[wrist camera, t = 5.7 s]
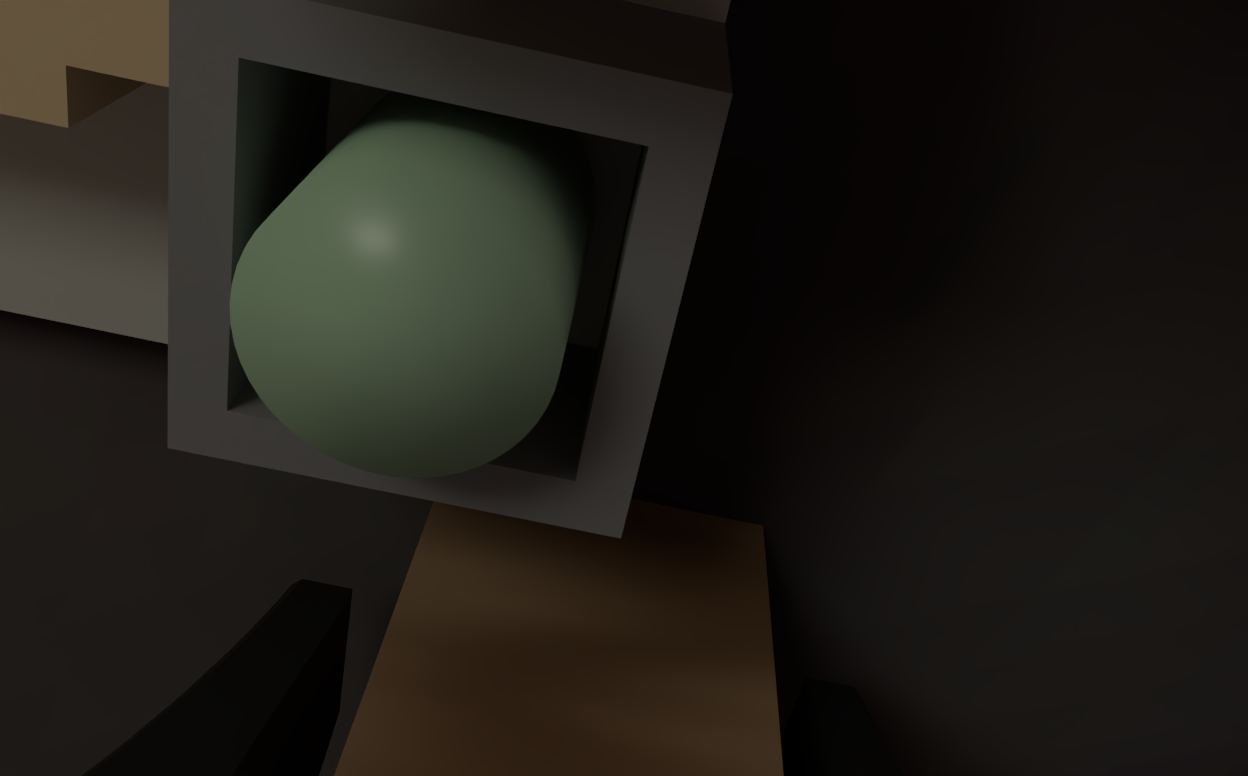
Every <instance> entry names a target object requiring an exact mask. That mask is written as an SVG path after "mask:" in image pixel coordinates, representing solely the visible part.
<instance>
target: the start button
mask: <svg viewBox="0 0 1248 776" xmlns="http://www.w3.org/2000/svg"><path fill="white" fill-rule="evenodd" d="M595 210H596V192H595V185H594V178H593V174H592V171H591V167H590V164H589V160H588V158H587V156H586V153H585V151H584V149H583V146H582V145H581V143H580V141H579V139H578V138H577V136H576V134H575V133H574V131H573V130H571V129H566V128H561V127H557V126H552V125H548V124H543V123H538V122H534V121H529V120H525V119H520V118H515V117H511V116H506V115H501V114H497V113H492V112H488V111H483V110H478V109H474V108H469V107H465V106H460V105H455V104H451V103H446V102H442V101H437V100H432V99H428V98H423V97H418V96H414V95H409V94H405V93H400V92H395V91H390V92H389V93H388V94H387V95H385V96H384V97H383V98H382V99H381V100H379V101H378V102H377V103H376V104H375V105H374V106H373V107H372V108H371V110H370V111H369V112H368V113H367V114H366V115H365V116H364V117H363V118H362V119H361V120H360V121H359V122H358V123H357V124H356V125H355V126H354V127H353V128H352V129H351V131H350V132H349V133H348V134H347V135H346V136H345V137H344V138H343V139H342V140H341V141H340V142H339V143H338V144H337V145H336V146H335V147H334V148H333V149H332V150H331V152H330V153H329V154H328V155H327V156H326V157H325V158H324V159H323V160H322V161H321V162H320V163H319V164H318V165H317V166H316V167H315V168H314V169H313V170H312V171H311V173H310V174H309V175H308V176H307V177H306V178H305V179H304V180H303V181H302V182H301V183H300V184H299V185H298V186H297V187H296V188H295V189H294V190H293V191H292V192H291V194H290V195H289V196H288V197H287V198H286V199H285V200H284V201H283V202H282V203H281V204H280V205H279V206H278V207H277V208H276V209H275V210H274V211H273V212H272V213H271V215H270V216H269V217H268V218H267V219H266V220H265V221H264V222H263V223H262V224H261V226H260V227H259V228H258V229H257V230H256V231H255V233H254V234H253V236H252V237H251V239H250V240H249V242H248V243H247V245H246V246H245V248H244V250H243V253H242V255H241V257H240V259H239V262H238V264H237V266H236V270H235V274H234V278H233V281H232V286H231V296H230V324H231V330H232V335H233V341H234V345H235V348H236V351H237V354H238V357H239V360H240V363H241V365H242V367H243V369H244V371H245V373H246V375H247V378H248V380H249V381H250V383H251V385H252V386H253V388H254V389H255V391H256V392H257V394H258V396H259V397H260V399H261V400H262V401H263V402H264V404H265V405H266V406H267V407H268V408H269V410H270V411H271V412H272V413H273V415H275V416H276V417H277V418H278V419H279V420H280V421H281V422H282V423H283V424H284V425H285V426H286V427H287V428H288V429H289V430H290V431H291V432H293V433H294V434H295V435H297V436H298V437H299V438H300V439H302V440H303V441H304V442H306V443H307V444H309V445H310V446H312V447H314V448H315V449H317V450H318V451H320V452H321V453H323V454H325V455H327V456H329V457H331V458H333V459H335V460H337V461H340V462H342V463H345V464H347V465H350V466H353V467H355V468H358V469H361V470H365V471H369V472H373V473H377V474H381V475H387V476H394V477H403V478H429V477H441V476H446V475H451V474H457V473H461V472H464V471H467V470H470V469H473V468H476V467H479V466H481V465H483V464H485V463H488V462H490V461H492V460H494V459H496V458H497V457H499V456H501V455H502V454H504V453H505V452H507V451H508V450H510V449H511V448H513V447H514V446H515V445H516V444H517V443H518V442H520V441H521V440H522V439H523V438H524V437H525V436H526V435H527V434H528V433H529V432H530V431H531V429H532V428H533V427H534V426H535V425H536V424H537V423H538V421H539V419H540V418H541V416H542V415H543V413H544V412H545V410H546V409H547V407H548V405H549V403H550V400H551V398H552V396H553V394H554V391H555V389H556V385H557V381H558V378H559V374H560V370H561V366H562V361H563V357H564V353H565V348H566V344H567V339H568V335H569V331H570V326H571V322H572V317H573V313H574V309H575V304H576V300H577V296H578V291H579V287H580V282H581V278H582V274H583V269H584V265H585V260H586V256H587V252H588V247H589V243H590V238H591V234H592V230H593V225H594V218H595Z"/></svg>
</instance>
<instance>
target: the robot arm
mask: <svg viewBox="0 0 1248 776" xmlns="http://www.w3.org/2000/svg"><path fill="white" fill-rule="evenodd" d="M351 597H352V589H350V588H345V587H340V586H334V585H329V584H324V583H319V582H314V581H309V580H304V579H301V580H300V581H298V582H296V583H294V584H292V585H291V586H290V588H289V589H288V590H287V591H286V592H285V593H284V594H283V596H282V597H281V598H280V599H279V600H278V601H277V602H276V603H275V604H274V605H273V607H272V608H271V609H270V610H269V611H268V612H267V613H266V614H265V615H264V616H263V617H262V618H261V619H260V620H259V621H258V622H257V624H256V625H255V626H254V627H253V628H252V629H251V630H250V631H249V632H248V633H247V634H246V635H245V636H244V637H243V638H242V639H241V640H240V641H239V642H238V643H237V644H236V645H235V646H234V647H233V648H232V649H231V650H230V651H229V652H228V653H227V654H225V655H224V656H223V657H222V658H221V659H220V660H219V661H218V662H217V663H216V664H215V665H214V666H213V667H211V668H210V669H209V670H208V671H207V672H206V673H205V674H204V675H203V676H202V677H201V678H200V679H199V680H197V681H196V682H195V683H194V684H193V685H192V686H191V687H190V688H189V689H188V690H187V691H186V692H184V693H183V694H182V695H181V696H180V697H179V698H178V699H177V700H175V701H174V702H173V703H172V704H171V705H170V706H168V707H167V708H166V709H165V710H164V711H162V712H161V713H160V714H159V715H157V716H156V717H155V718H154V719H153V720H151V721H150V722H149V723H148V724H147V725H145V726H144V727H143V728H142V729H141V730H139V731H138V732H137V733H136V734H135V735H133V736H132V737H131V738H130V739H129V740H127V741H126V742H125V743H124V744H123V745H121V746H120V747H119V748H117V749H116V750H115V751H114V752H112V753H111V754H110V755H108V756H107V757H106V758H104V759H103V760H102V761H101V762H99V763H98V764H97V765H95V766H94V767H93V768H91V769H90V770H89V771H87V772H86V773H84V774H83V775H82V776H319V773H320V770H321V767H322V764H323V761H324V758H325V755H326V752H327V749H328V746H329V742H330V739H331V736H332V733H333V730H334V727H335V723H336V720H337V717H338V714H339V709H340V699H341V690H342V681H343V672H344V662H345V653H346V644H347V634H348V625H349V616H350V606H351ZM781 749H782V761H783V774H784V776H902V775H901V773H900V772H899V770H898V768H897V766H896V764H895V762H894V761H893V759H892V757H891V755H890V753H889V751H888V749H887V747H886V746H885V744H884V742H883V740H882V738H881V736H880V734H879V732H878V730H877V728H876V727H875V725H874V723H873V721H872V719H871V717H870V715H869V713H868V711H867V709H866V707H865V705H864V704H863V702H862V700H861V698H860V696H859V694H858V693H857V691H856V690H855V688H854V687H851V686H846V685H841V684H836V683H831V682H826V681H821V680H816V679H810V678H805V679H804V682H803V684H802V687H801V690H800V692H799V695H798V698H797V700H796V703H795V705H794V708H793V711H792V713H791V716H790V718H789V721H788V724H787V726H786V729H785V732H784V734H783V737H782V739H781Z"/></svg>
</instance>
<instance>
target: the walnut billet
mask: <svg viewBox="0 0 1248 776" xmlns="http://www.w3.org/2000/svg"><path fill="white" fill-rule="evenodd" d="M334 776H784V774H783V761H782V749H781V737H780V725H779V713H778V701H777V689H776V677H775V664H774V652H773V640H772V628H771V616H770V604H769V592H768V580H767V567H766V555H765V543H764V531H763V526H762V525H757V524H752V523H748V522H743V521H738V520H733V519H728V518H723V517H718V516H713V515H708V514H703V513H698V512H694V511H689V510H684V509H679V508H674V507H669V506H664V505H659V504H654V503H649V502H645V501H640V500H635V499H631V501H630V505H629V508H628V512H627V516H626V520H625V524H624V528H623V532H622V536H621V538H616V537H611V536H606V535H601V534H596V533H591V532H586V531H581V530H575V529H570V528H565V527H560V526H555V525H550V524H545V523H540V522H535V521H530V520H525V519H520V518H515V517H510V516H505V515H500V514H495V513H490V512H485V511H480V510H475V509H470V508H465V507H460V506H455V505H450V504H445V503H440V502H435V501H433V504H432V507H431V510H430V512H429V515H428V518H427V521H426V523H425V526H424V529H423V532H422V535H421V537H420V540H419V543H418V546H417V548H416V551H415V554H414V557H413V559H412V562H411V565H410V568H409V570H408V573H407V576H406V579H405V581H404V584H403V587H402V590H401V592H400V595H399V598H398V601H397V604H396V606H395V609H394V612H393V615H392V617H391V620H390V623H389V626H388V628H387V631H386V634H385V637H384V639H383V642H382V645H381V648H380V650H379V653H378V656H377V659H376V661H375V664H374V667H373V670H372V673H371V675H370V678H369V681H368V684H367V686H366V689H365V692H364V695H363V697H362V700H361V703H360V706H359V708H358V711H357V714H356V717H355V719H354V722H353V725H352V728H351V731H350V733H349V736H348V739H347V742H346V744H345V747H344V750H343V753H342V755H341V758H340V761H339V764H338V766H337V769H336V772H335V775H334Z"/></svg>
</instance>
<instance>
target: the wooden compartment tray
mask: <svg viewBox="0 0 1248 776" xmlns="http://www.w3.org/2000/svg"><path fill="white" fill-rule="evenodd" d="M730 1H731V0H0V310H3V311H8V312H13V313H18V314H23V315H28V316H33V317H38V318H43V319H48V320H52V321H57V322H62V323H67V324H72V325H77V326H82V327H87V328H92V329H97V330H101V331H106V332H111V333H116V334H121V335H126V336H131V337H136V338H141V339H145V340H150V341H155V342H160V343H165V344H168V448H170V449H175V450H180V451H185V452H190V453H195V454H200V455H205V456H210V457H215V458H220V459H225V460H230V461H235V462H240V463H245V464H250V465H255V466H260V467H265V468H270V469H275V470H280V471H285V472H290V473H295V474H300V475H305V476H310V477H315V478H320V479H325V480H330V481H335V482H340V483H345V484H350V485H355V486H360V487H365V488H370V489H375V490H380V491H385V492H390V493H395V494H400V495H405V496H410V497H415V498H420V499H425V500H430V501H435V502H440V503H445V504H450V505H455V506H460V507H465V508H470V509H475V510H480V511H485V512H490V513H495V514H500V515H505V516H510V517H515V518H520V519H525V520H530V521H535V522H540V523H545V524H550V525H555V526H560V527H565V528H570V529H575V530H581V531H586V532H591V533H596V534H601V535H606V536H611V537H616V538H621V536H622V532H623V528H624V524H625V520H626V516H627V512H628V508H629V505H630V501H631V497H632V493H633V489H634V485H635V481H636V477H637V473H638V469H639V465H640V461H641V457H642V453H643V449H644V445H645V441H646V437H647V433H648V429H649V425H650V421H651V417H652V413H653V409H654V405H655V401H656V397H657V393H658V389H659V385H660V381H661V377H662V373H663V369H664V365H665V361H666V357H667V353H668V349H669V345H670V341H671V337H672V333H673V329H674V326H675V322H676V318H677V314H678V310H679V306H680V302H681V298H682V294H683V290H684V286H685V282H686V278H687V274H688V270H689V266H690V262H691V258H692V254H693V250H694V246H695V242H696V238H697V234H698V230H699V226H700V222H701V218H702V214H703V210H704V206H705V202H706V198H707V194H708V190H709V186H710V182H711V178H712V174H713V170H714V166H715V162H716V158H717V154H718V151H719V147H720V143H721V139H722V135H723V131H724V127H725V123H726V119H727V115H728V111H729V107H730V103H731V99H732V95H733V92H732V82H731V73H730V63H729V54H728V45H727V35H726V26H725V22H726V18H727V14H728V10H729V6H730ZM390 91H395V92H400V93H405V94H409V95H414V96H418V97H423V98H428V99H432V100H437V101H442V102H446V103H451V104H455V105H460V106H465V107H469V108H474V109H478V110H483V111H488V112H492V113H497V114H501V115H506V116H511V117H515V118H520V119H525V120H529V121H534V122H538V123H543V124H548V125H552V126H557V127H561V128H566V129H571V130H573V131H574V133H575V134H576V136H577V138H578V139H579V141H580V143H581V145H582V146H583V149H584V151H585V153H586V156H587V158H588V160H589V164H590V167H591V171H592V174H593V178H594V185H595V192H596V210H595V218H594V225H593V230H592V234H591V238H590V243H589V247H588V252H587V256H586V260H585V265H584V269H583V274H582V278H581V282H580V287H579V291H578V296H577V300H576V304H575V309H574V313H573V317H572V322H571V326H570V331H569V335H568V339H567V344H566V348H565V353H564V357H563V361H562V366H561V370H560V374H559V378H558V381H557V385H556V389H555V391H554V394H553V396H552V398H551V400H550V403H549V405H548V407H547V409H546V410H545V412H544V413H543V415H542V416H541V418H540V419H539V421H538V423H537V424H536V425H535V426H534V427H533V428H532V429H531V431H530V432H529V433H528V434H527V435H526V436H525V437H524V438H523V439H522V440H521V441H520V442H518V443H517V444H516V445H515V446H514V447H513V448H511V449H510V450H508V451H507V452H505V453H504V454H502V455H501V456H499V457H497V458H496V459H494V460H492V461H490V462H488V463H485V464H483V465H481V466H479V467H476V468H473V469H470V470H467V471H464V472H461V473H457V474H451V475H446V476H441V477H429V478H403V477H394V476H387V475H381V474H377V473H373V472H369V471H365V470H361V469H358V468H355V467H353V466H350V465H347V464H345V463H342V462H340V461H337V460H335V459H333V458H331V457H329V456H327V455H325V454H323V453H321V452H320V451H318V450H317V449H315V448H314V447H312V446H310V445H309V444H307V443H306V442H304V441H303V440H302V439H300V438H299V437H298V436H297V435H295V434H294V433H293V432H291V431H290V430H289V429H288V428H287V427H286V426H285V425H284V424H283V423H282V422H281V421H280V420H279V419H278V418H277V417H276V416H275V415H273V413H272V412H271V411H270V410H269V408H268V407H267V406H266V405H265V404H264V402H263V401H262V400H261V399H260V397H259V396H258V394H257V392H256V391H255V389H254V388H253V386H252V385H251V383H250V381H249V380H248V378H247V375H246V373H245V371H244V369H243V367H242V365H241V363H240V360H239V357H238V354H237V351H236V348H235V345H234V341H233V335H232V330H231V324H230V296H231V286H232V281H233V278H234V274H235V270H236V266H237V264H238V262H239V259H240V257H241V255H242V253H243V250H244V248H245V246H246V245H247V243H248V242H249V240H250V239H251V237H252V236H253V234H254V233H255V231H256V230H257V229H258V228H259V227H260V226H261V224H262V223H263V222H264V221H265V220H266V219H267V218H268V217H269V216H270V215H271V213H272V212H273V211H274V210H275V209H276V208H277V207H278V206H279V205H280V204H281V203H282V202H283V201H284V200H285V199H286V198H287V197H288V196H289V195H290V194H291V192H292V191H293V190H294V189H295V188H296V187H297V186H298V185H299V184H300V183H301V182H302V181H303V180H304V179H305V178H306V177H307V176H308V175H309V174H310V173H311V171H312V170H313V169H314V168H315V167H316V166H317V165H318V164H319V163H320V162H321V161H322V160H323V159H324V158H325V157H326V156H327V155H328V154H329V153H330V152H331V150H332V149H333V148H334V147H335V146H336V145H337V144H338V143H339V142H340V141H341V140H342V139H343V138H344V137H345V136H346V135H347V134H348V133H349V132H350V131H351V129H352V128H353V127H354V126H355V125H356V124H357V123H358V122H359V121H360V120H361V119H362V118H363V117H364V116H365V115H366V114H367V113H368V112H369V111H370V110H371V108H372V107H373V106H374V105H375V104H376V103H377V102H378V101H379V100H381V99H382V98H383V97H384V96H385V95H387V94H388V93H389V92H390Z"/></svg>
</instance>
